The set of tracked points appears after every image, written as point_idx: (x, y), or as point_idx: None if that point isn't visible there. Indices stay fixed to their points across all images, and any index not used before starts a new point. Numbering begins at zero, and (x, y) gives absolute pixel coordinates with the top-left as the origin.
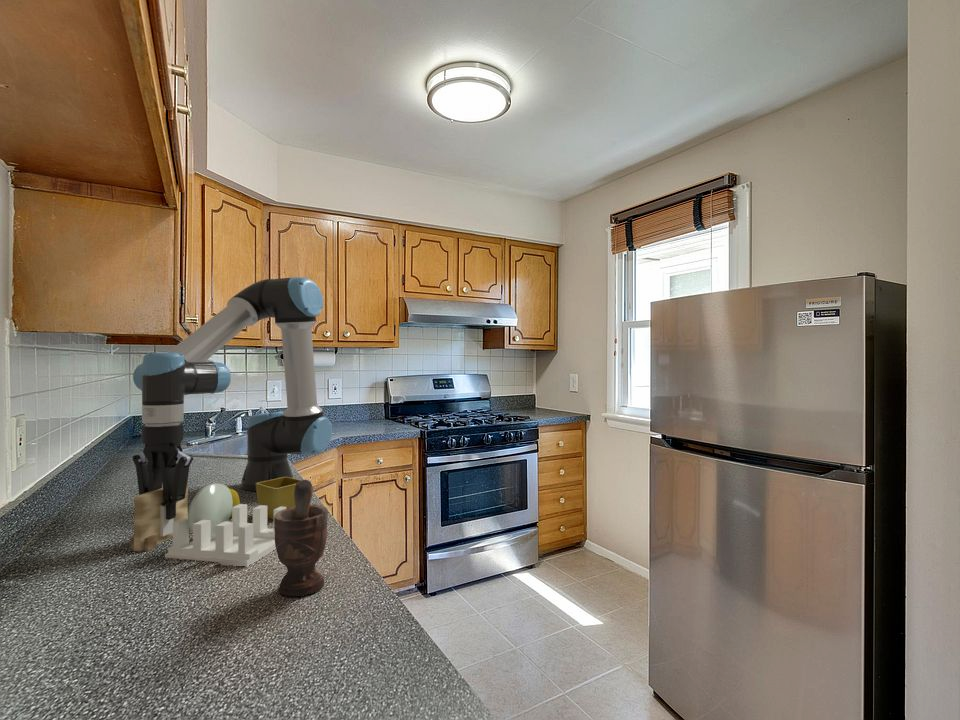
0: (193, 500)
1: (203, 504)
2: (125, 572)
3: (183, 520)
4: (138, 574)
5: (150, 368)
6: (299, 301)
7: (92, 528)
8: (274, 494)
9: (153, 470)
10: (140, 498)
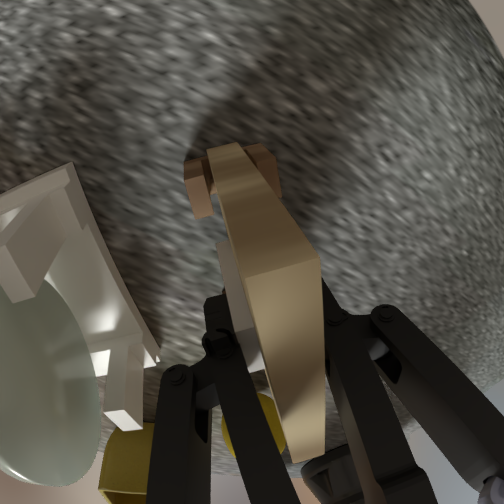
0: None
1: None
2: (88, 41)
3: (3, 281)
4: (36, 61)
5: None
6: None
7: (496, 221)
8: (103, 475)
9: (381, 498)
10: (246, 267)
